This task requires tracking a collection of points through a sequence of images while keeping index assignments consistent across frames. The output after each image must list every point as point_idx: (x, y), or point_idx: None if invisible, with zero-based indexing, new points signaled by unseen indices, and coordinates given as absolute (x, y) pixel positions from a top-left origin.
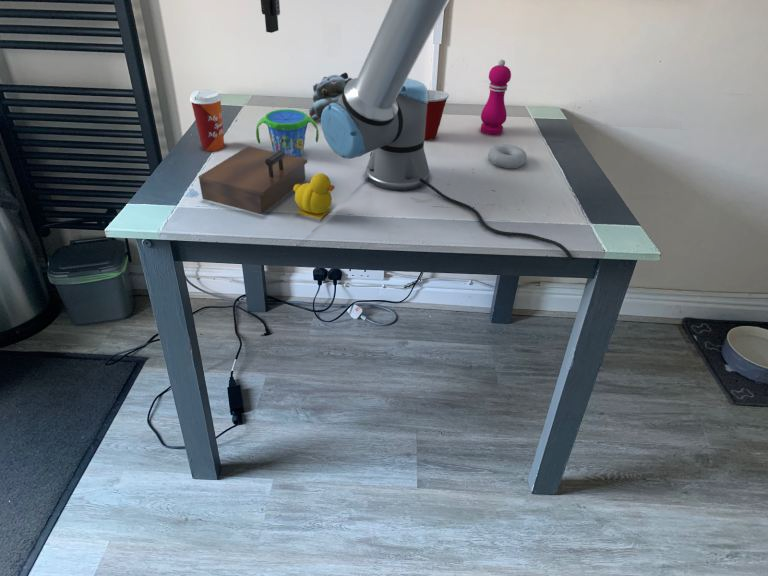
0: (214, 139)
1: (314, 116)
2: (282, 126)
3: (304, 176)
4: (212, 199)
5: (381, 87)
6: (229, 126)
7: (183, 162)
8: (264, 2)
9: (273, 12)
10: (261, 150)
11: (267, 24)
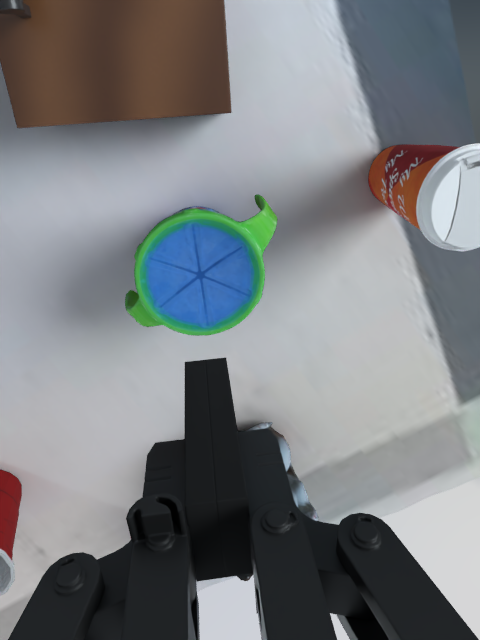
0: (386, 160)
1: (257, 426)
2: (169, 218)
3: None
4: None
5: None
6: (428, 300)
7: (413, 44)
8: (236, 480)
9: (173, 454)
10: (175, 107)
11: (214, 383)
